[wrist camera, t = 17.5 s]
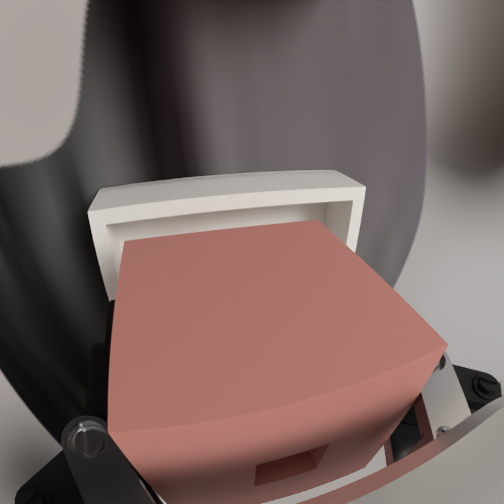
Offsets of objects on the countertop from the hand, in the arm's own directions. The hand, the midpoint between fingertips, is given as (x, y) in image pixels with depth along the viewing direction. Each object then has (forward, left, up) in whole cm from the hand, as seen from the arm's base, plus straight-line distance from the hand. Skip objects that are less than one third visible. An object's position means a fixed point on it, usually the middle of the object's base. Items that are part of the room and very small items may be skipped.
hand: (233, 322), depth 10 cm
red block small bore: (0, 0, -1) cm, 1 cm away
